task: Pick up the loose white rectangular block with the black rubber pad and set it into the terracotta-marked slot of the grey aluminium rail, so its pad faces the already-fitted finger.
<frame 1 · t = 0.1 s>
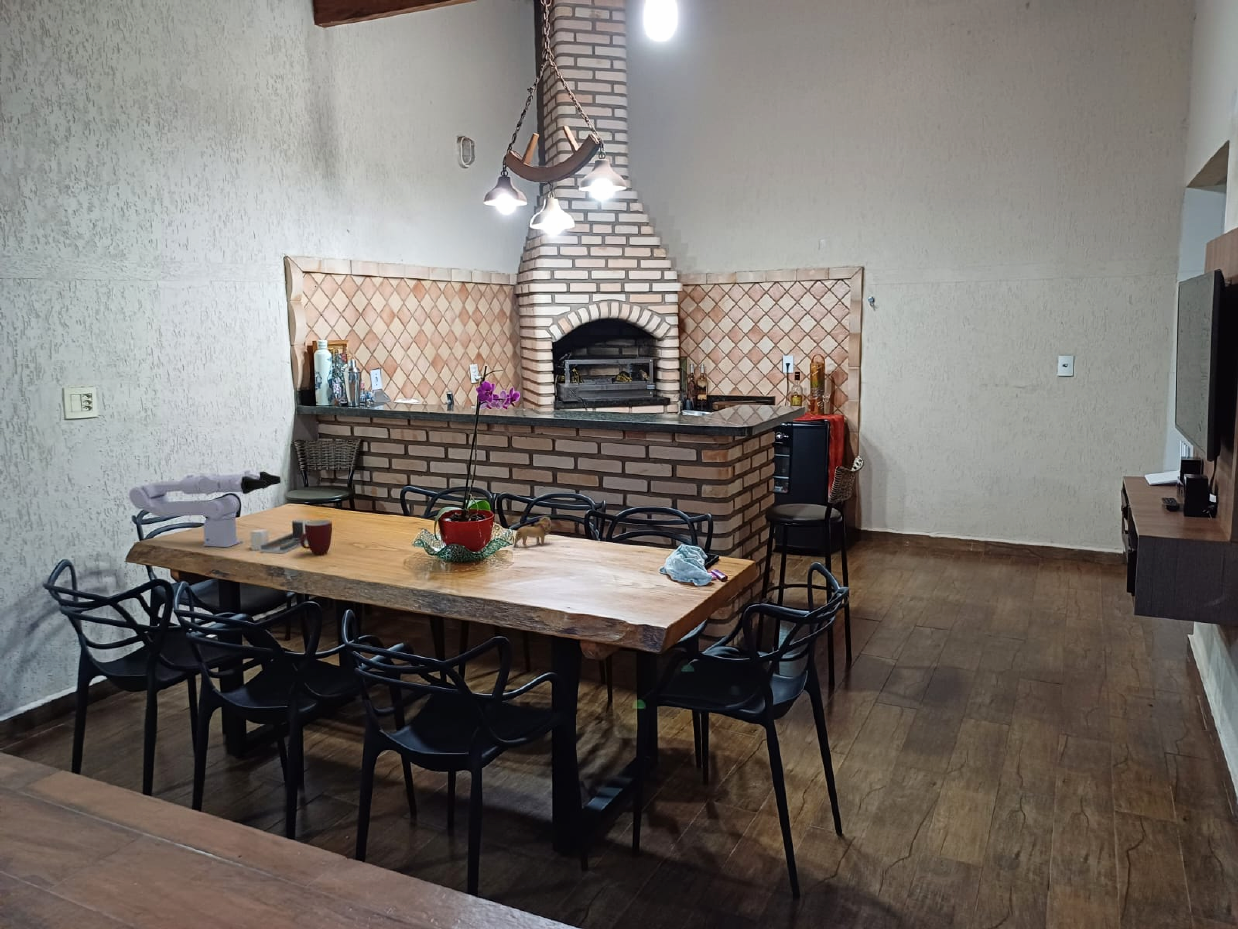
hand: (272, 481, 283), 22 cm above the table, tool horizontal, fingers open, 7 cm apart
white rectangular block: (260, 548, 284), on the table
rail: (289, 545, 288), on the table
mug: (317, 555, 277), on the table
lion figurine: (532, 546, 288), on the table
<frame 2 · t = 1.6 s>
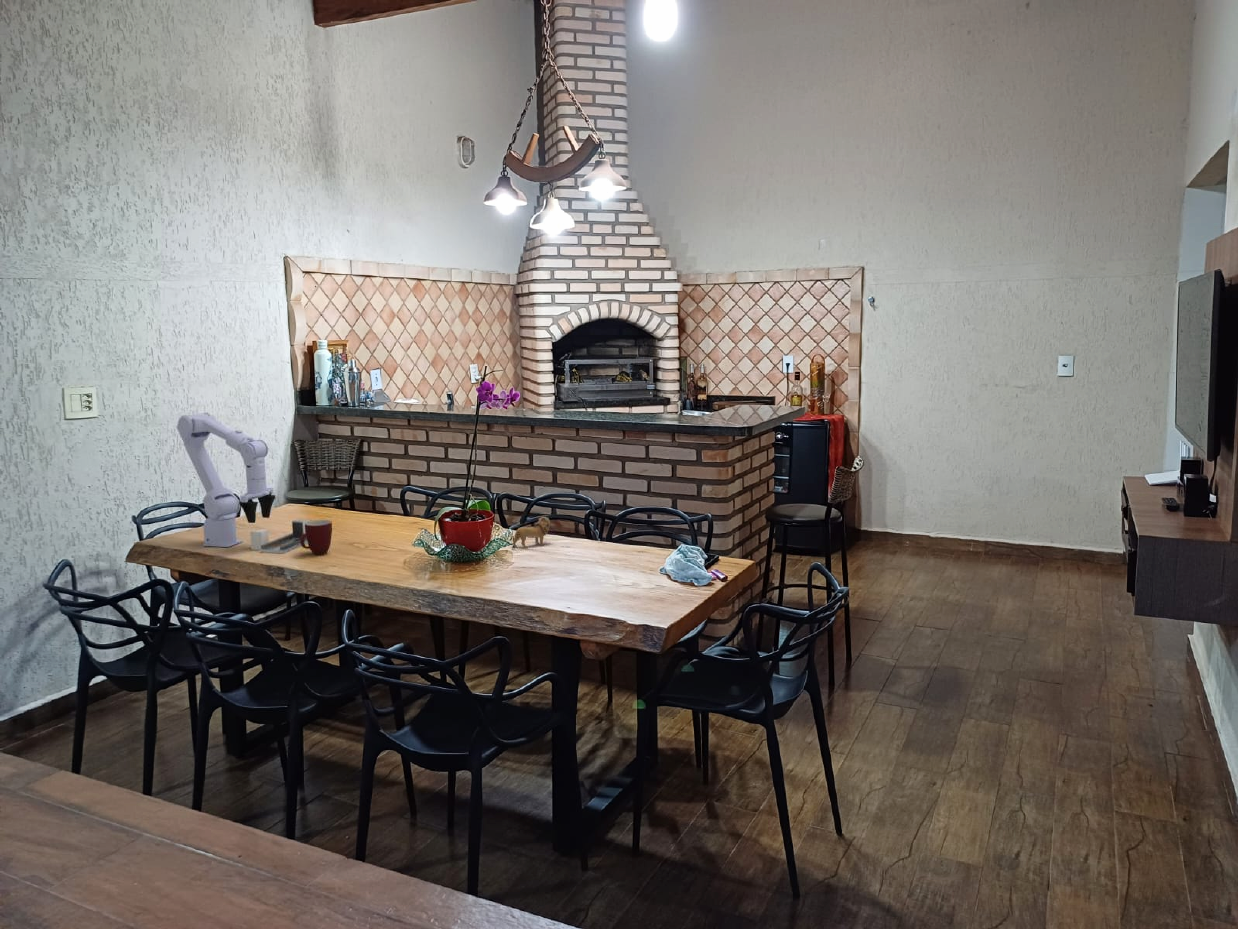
hand: (258, 520, 283), 9 cm above the table, tool pointing down, fingers open, 7 cm apart
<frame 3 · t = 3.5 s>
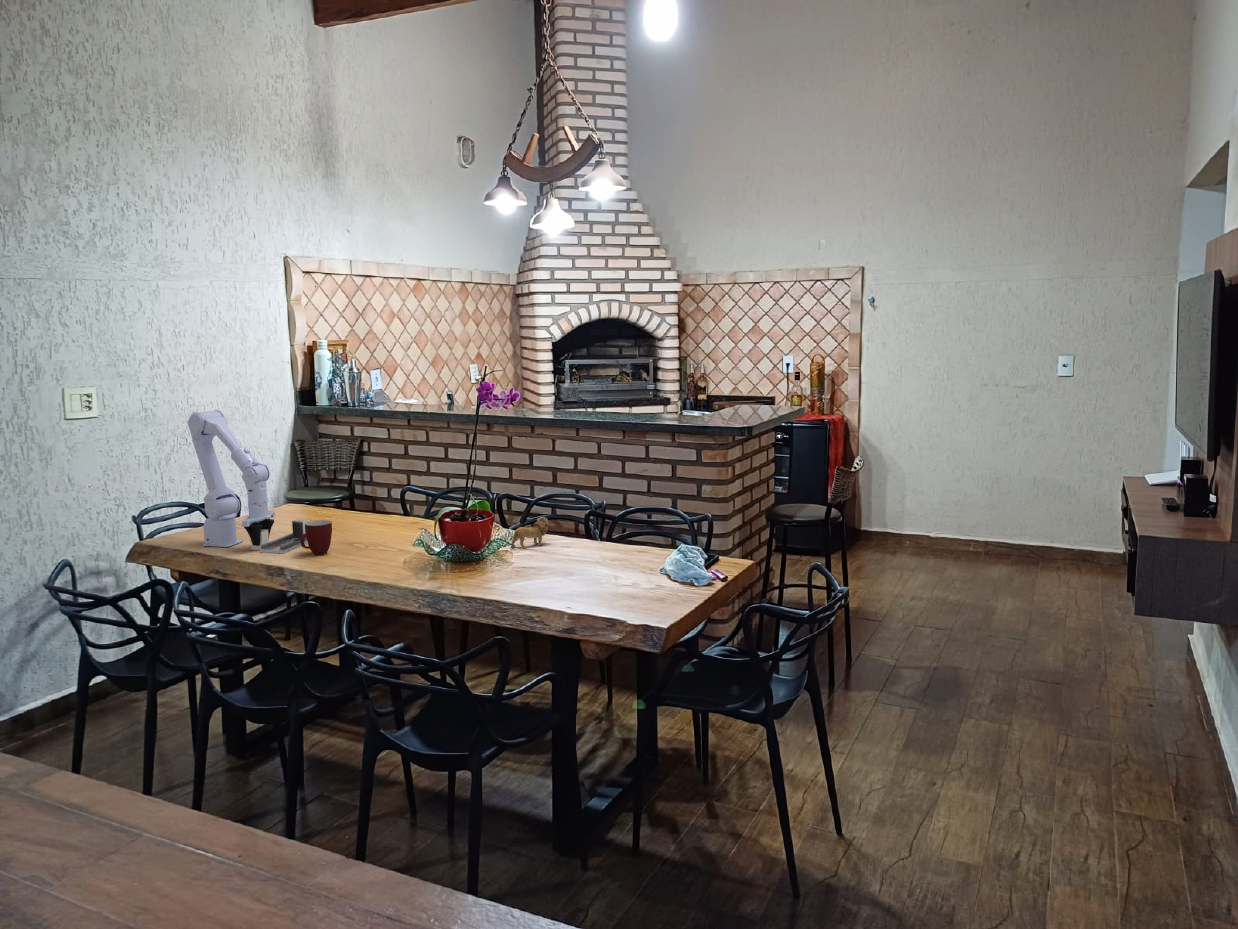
hand: (260, 543, 284), 2 cm above the table, tool pointing down, fingers closed on white rectangular block, 4 cm apart
white rectangular block: (260, 548, 284), on the table, touching gripper
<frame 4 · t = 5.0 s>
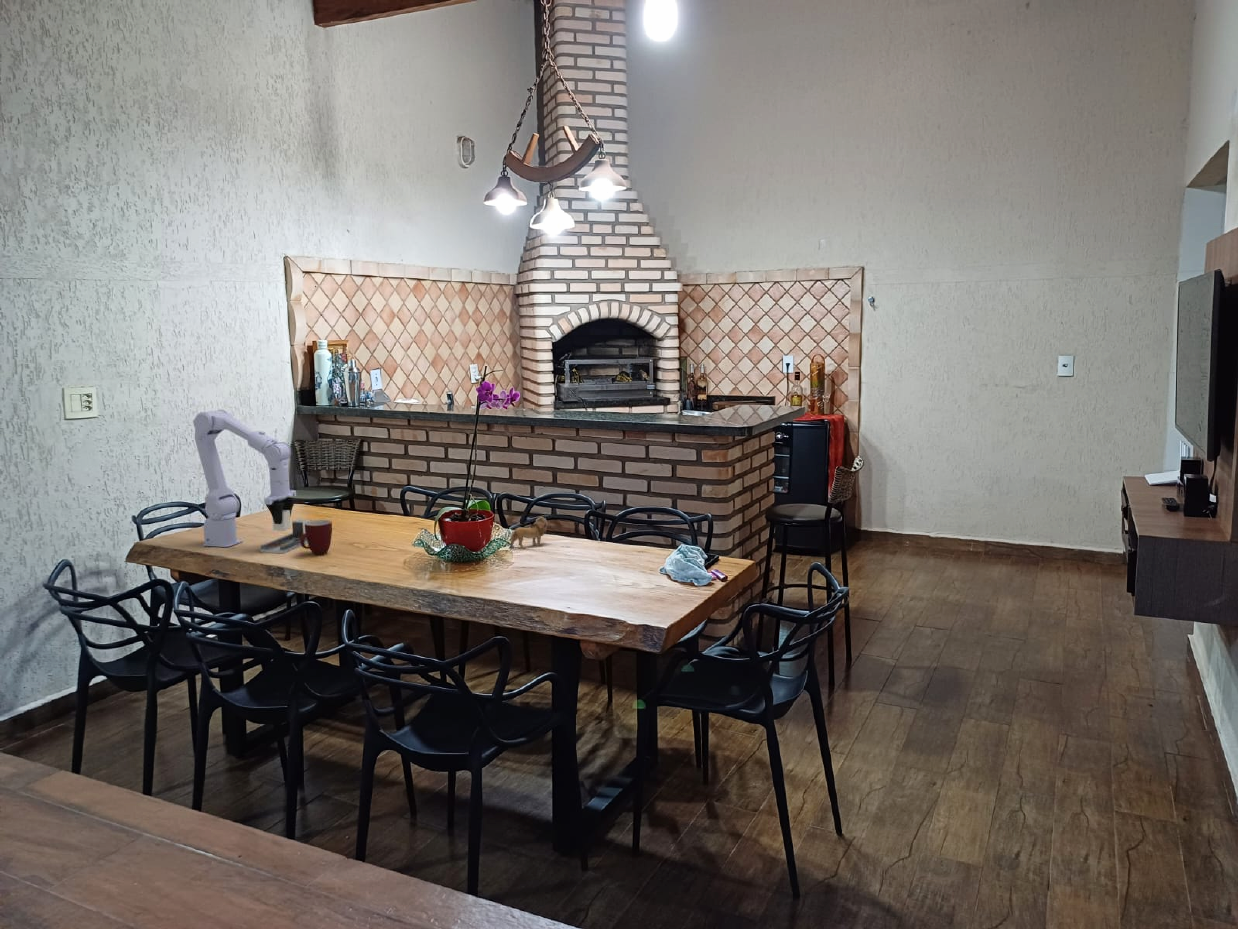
hand: (282, 522, 284), 9 cm above the table, tool pointing down, fingers closed on white rectangular block, 4 cm apart
white rectangular block: (281, 529, 284), point 6 cm above the table, touching gripper
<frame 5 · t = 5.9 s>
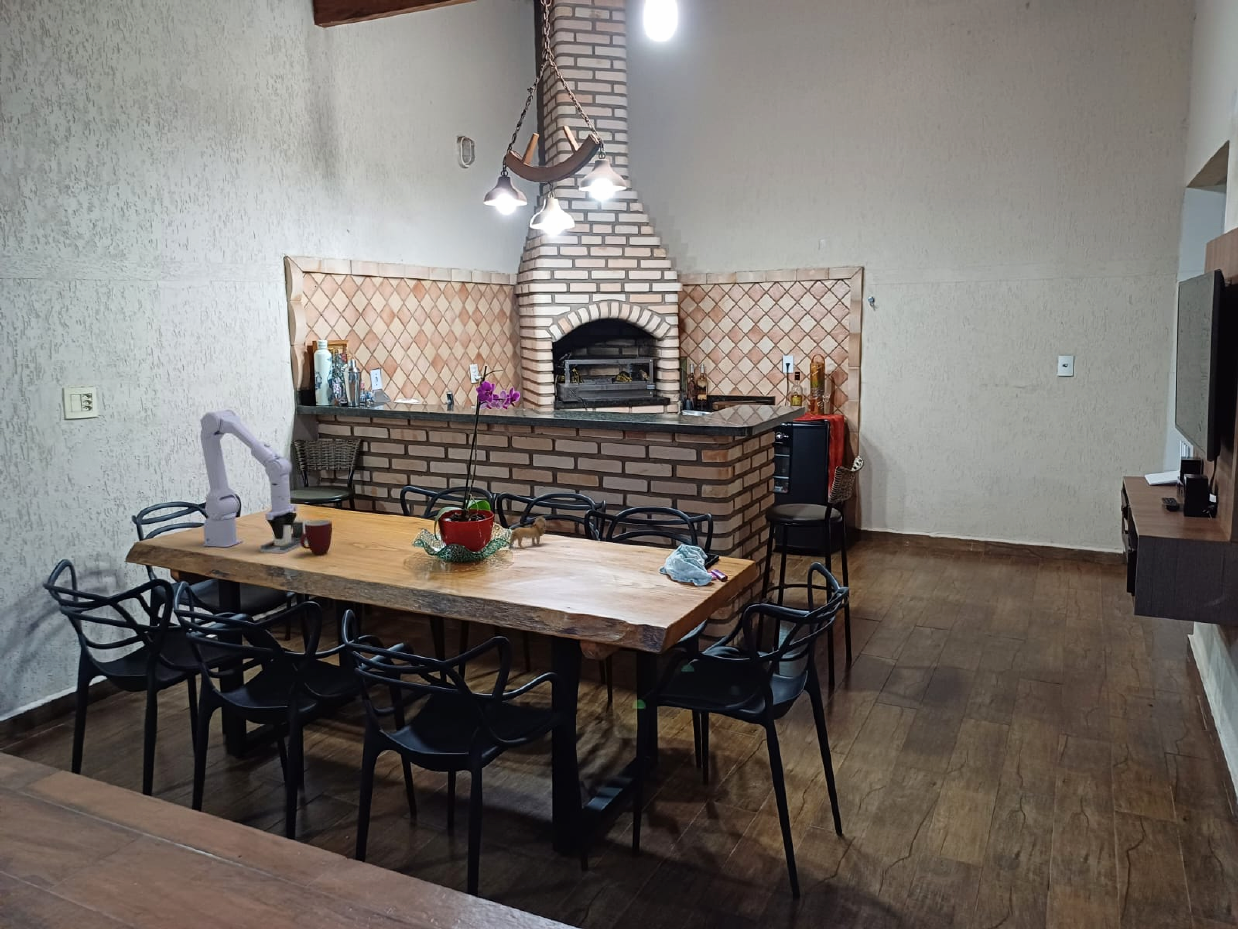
hand: (283, 537, 285), 4 cm above the table, tool pointing down, fingers closed on white rectangular block, 4 cm apart
white rectangular block: (282, 544, 285), point 1 cm above the table, touching gripper
when the fingers open (4 cm above the table, at t = 6.7 s): white rectangular block stays where it is, resting on rail.
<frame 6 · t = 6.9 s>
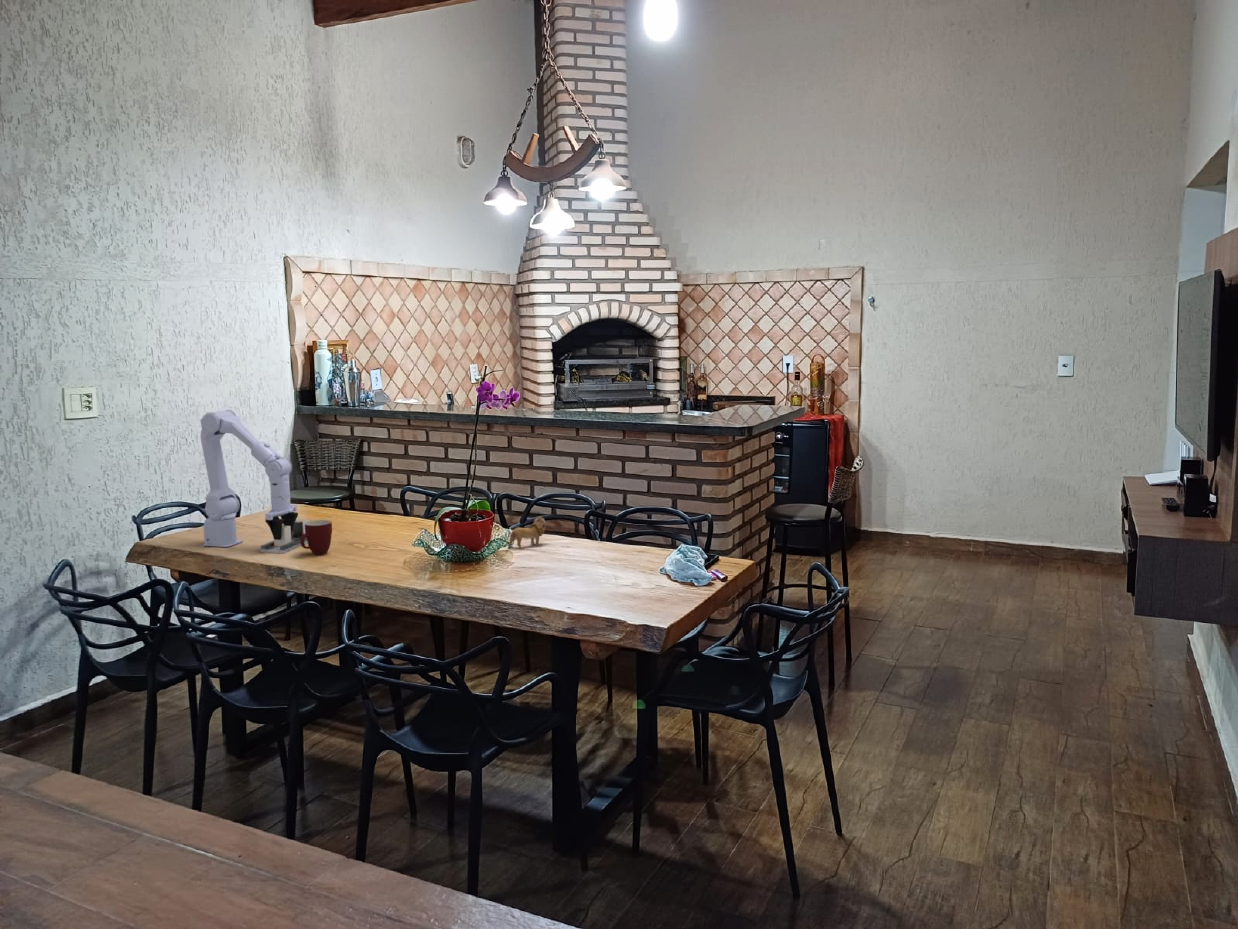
hand: (283, 537, 285), 4 cm above the table, tool pointing down, fingers open, 6 cm apart
white rectangular block: (282, 545, 285), point 1 cm above the table, touching rail
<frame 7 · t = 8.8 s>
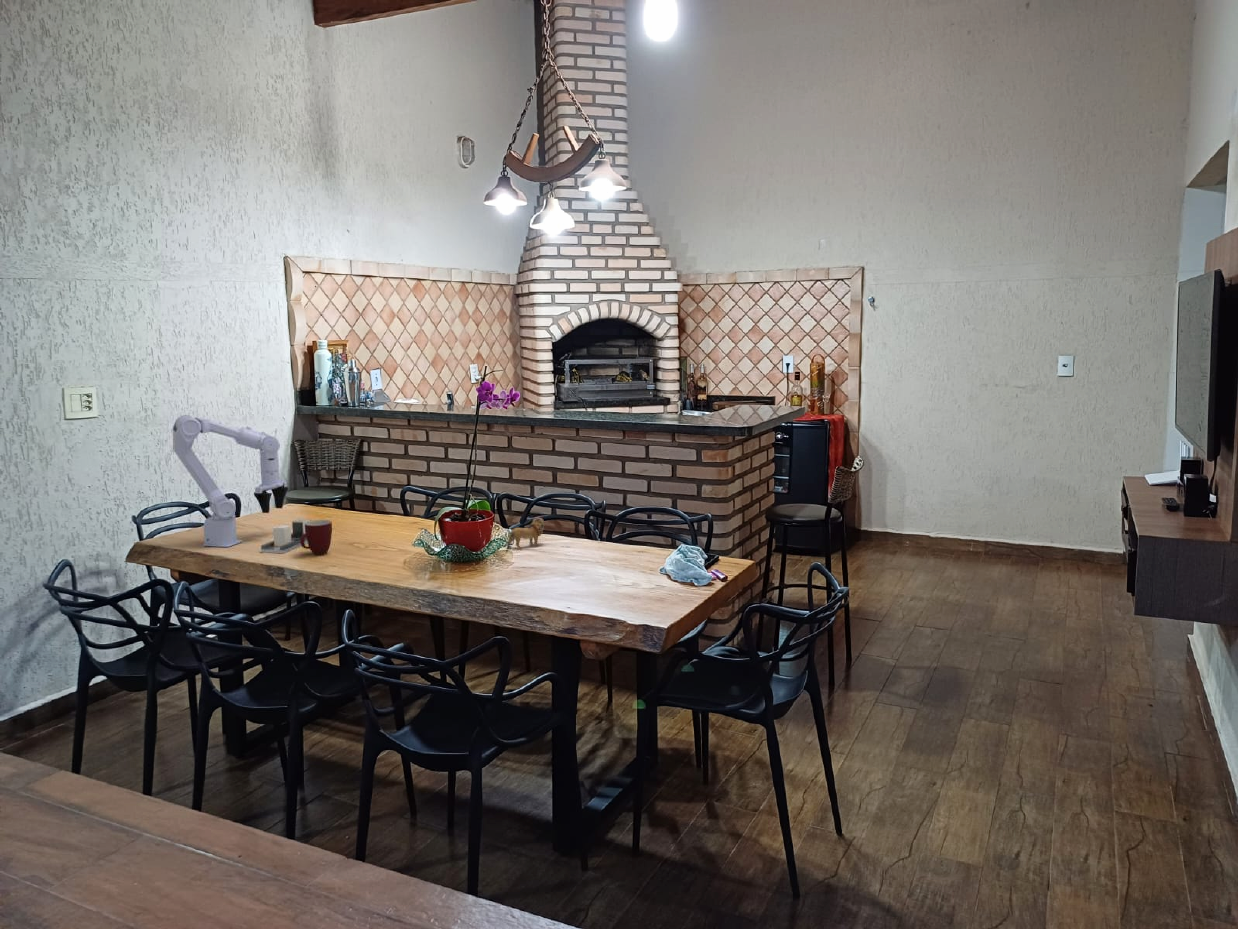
hand: (272, 510, 298), 9 cm above the table, tool pointing down, fingers open, 7 cm apart
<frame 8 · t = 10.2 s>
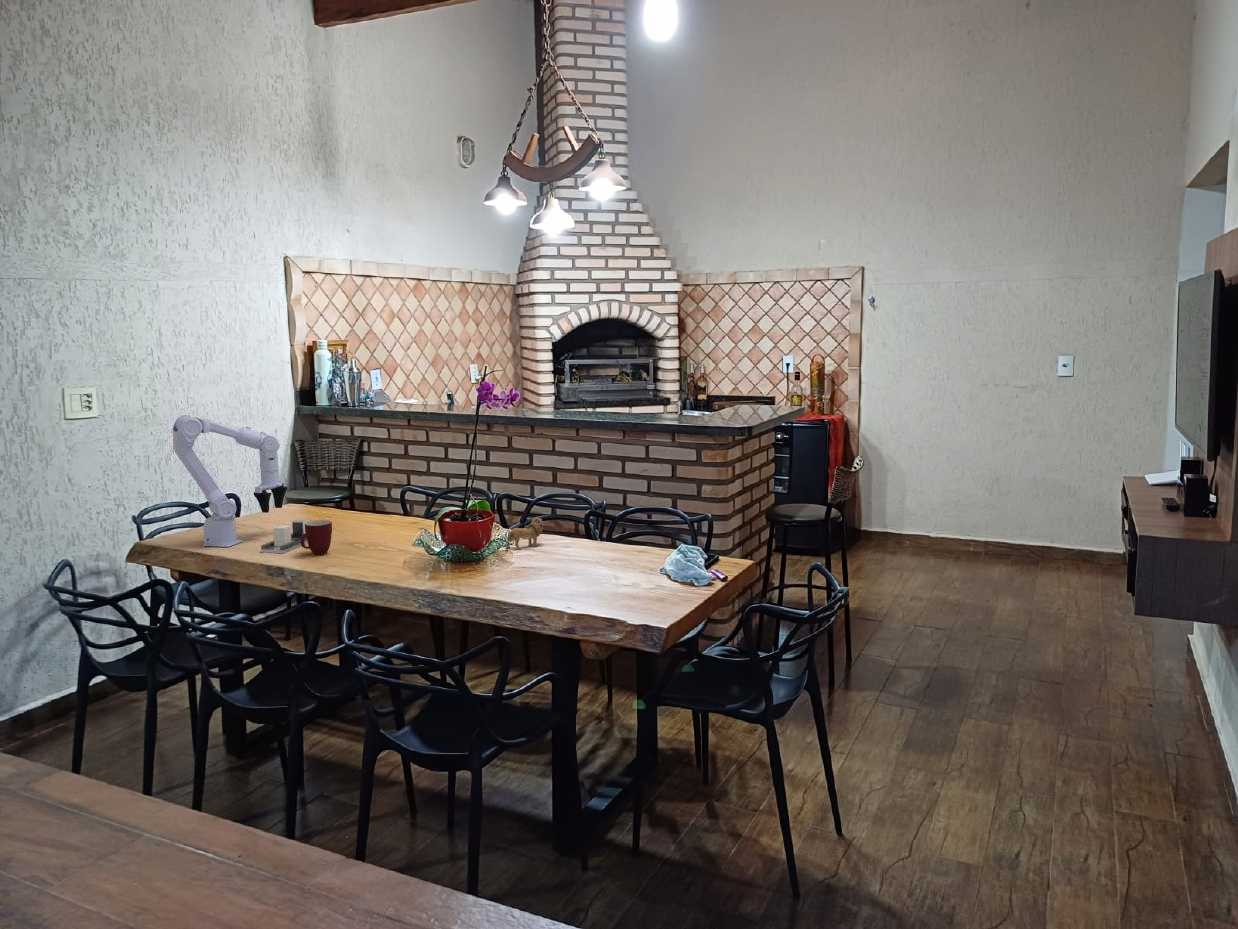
hand: (272, 510, 298), 9 cm above the table, tool pointing down, fingers open, 7 cm apart
at the end: white rectangular block 0.1 cm from the target spot on the rail, point 1.1 cm above the rail's base; white rectangular block tilted 0°; the gripper is holding nothing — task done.
